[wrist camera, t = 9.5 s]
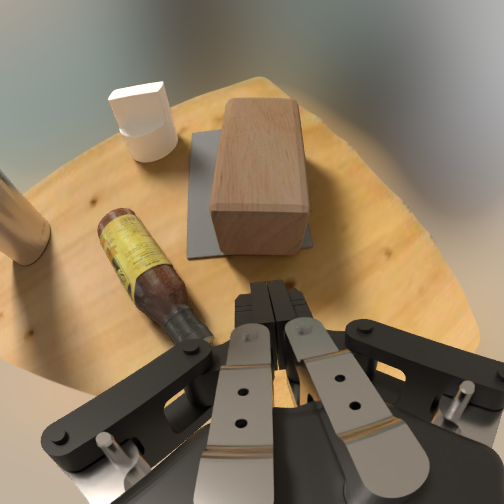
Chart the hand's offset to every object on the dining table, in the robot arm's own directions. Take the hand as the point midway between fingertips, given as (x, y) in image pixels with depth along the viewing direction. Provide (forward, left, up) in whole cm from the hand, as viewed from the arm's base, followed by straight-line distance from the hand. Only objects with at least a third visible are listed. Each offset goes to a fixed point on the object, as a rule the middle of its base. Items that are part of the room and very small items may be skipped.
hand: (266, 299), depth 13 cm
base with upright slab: (-15, +35, -20) cm, 43 cm away
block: (+1, +11, -14) cm, 18 cm away
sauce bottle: (-18, +17, -17) cm, 30 cm away
